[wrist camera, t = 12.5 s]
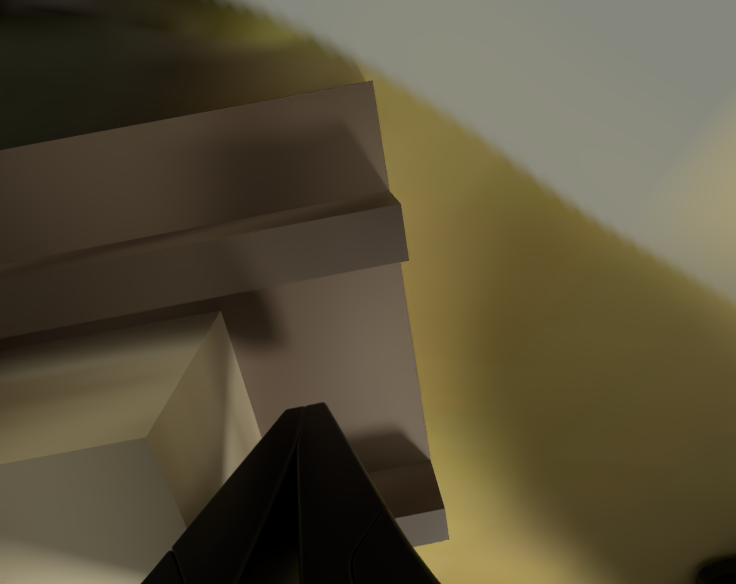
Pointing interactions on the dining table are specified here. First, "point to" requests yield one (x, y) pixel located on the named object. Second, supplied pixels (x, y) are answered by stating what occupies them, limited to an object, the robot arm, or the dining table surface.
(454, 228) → the dining table surface
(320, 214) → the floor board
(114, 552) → the beige rectangular block
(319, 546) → the robot arm
